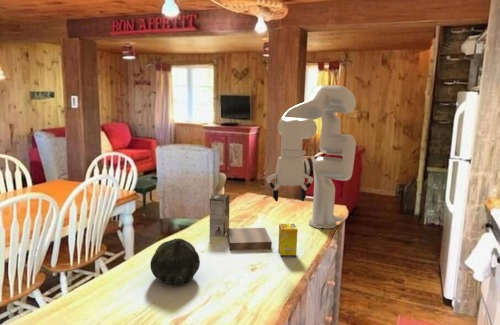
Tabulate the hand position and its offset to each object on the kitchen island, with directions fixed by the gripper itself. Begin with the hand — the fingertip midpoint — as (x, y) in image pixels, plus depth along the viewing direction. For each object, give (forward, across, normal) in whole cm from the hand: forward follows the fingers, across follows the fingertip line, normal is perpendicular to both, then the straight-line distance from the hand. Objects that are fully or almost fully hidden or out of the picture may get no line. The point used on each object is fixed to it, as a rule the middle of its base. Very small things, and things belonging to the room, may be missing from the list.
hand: (289, 200), depth 142 cm
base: (+21, +13, -13) cm, 28 cm away
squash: (+22, +40, +17) cm, 48 cm away
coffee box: (+21, +24, -24) cm, 40 cm away
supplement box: (+21, 0, 0) cm, 21 cm away
